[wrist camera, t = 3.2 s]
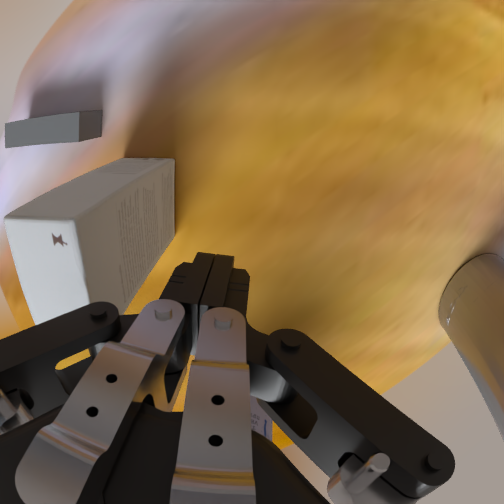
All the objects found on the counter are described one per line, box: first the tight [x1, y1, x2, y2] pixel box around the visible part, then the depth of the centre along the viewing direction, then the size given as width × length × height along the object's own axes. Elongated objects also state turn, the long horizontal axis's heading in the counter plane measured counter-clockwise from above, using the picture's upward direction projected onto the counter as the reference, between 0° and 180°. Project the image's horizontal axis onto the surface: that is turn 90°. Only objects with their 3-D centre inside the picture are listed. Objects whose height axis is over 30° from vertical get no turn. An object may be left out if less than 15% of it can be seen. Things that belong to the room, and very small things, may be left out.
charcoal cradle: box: [5, 110, 102, 148], centre depth 19 cm, size 8×13×3 cm, turn 174°
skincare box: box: [4, 158, 175, 325], centre depth 15 cm, size 6×4×12 cm
